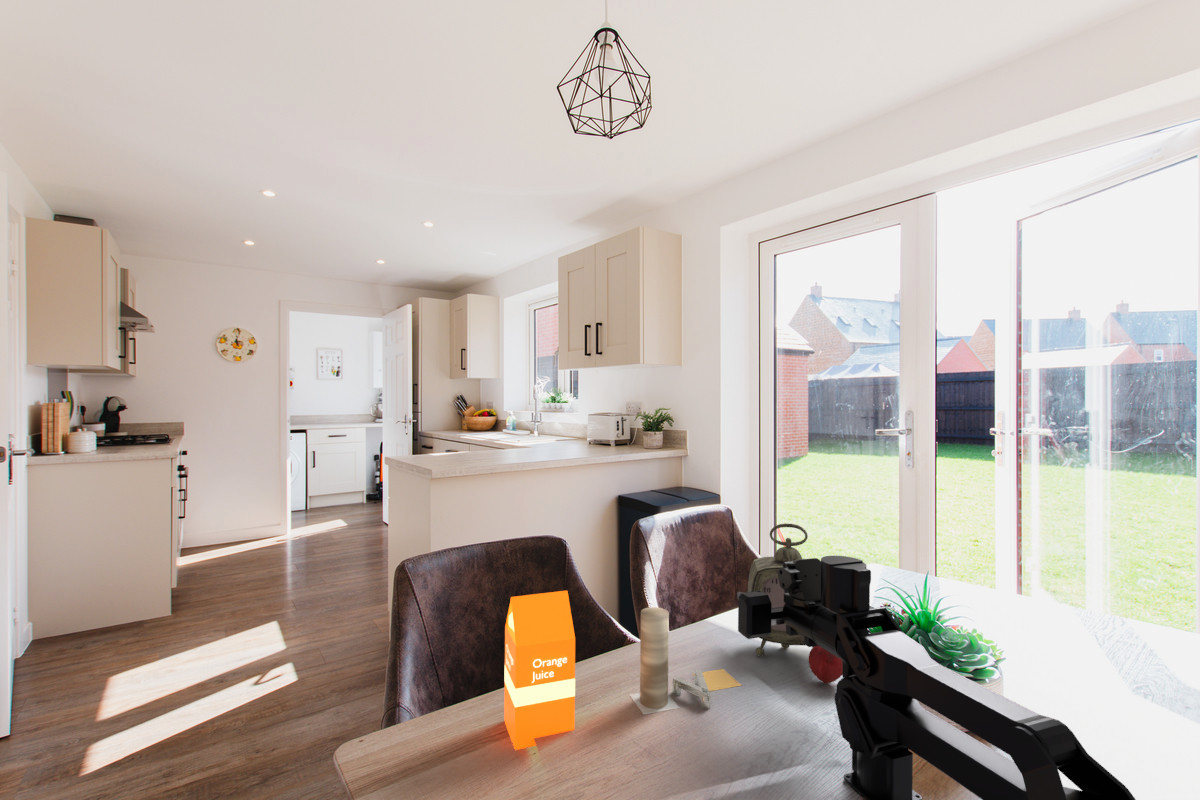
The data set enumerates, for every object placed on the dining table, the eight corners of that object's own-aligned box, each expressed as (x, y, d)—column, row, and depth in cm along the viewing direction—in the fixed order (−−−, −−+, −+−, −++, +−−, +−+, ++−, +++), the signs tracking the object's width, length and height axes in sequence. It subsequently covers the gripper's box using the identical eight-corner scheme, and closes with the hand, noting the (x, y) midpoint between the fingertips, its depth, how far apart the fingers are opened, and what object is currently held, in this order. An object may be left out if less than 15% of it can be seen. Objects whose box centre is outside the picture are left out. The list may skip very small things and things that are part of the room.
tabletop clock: (750, 660, 106) (751, 526, 105) (746, 639, 114) (747, 516, 114) (831, 667, 103) (833, 530, 103) (821, 645, 112) (822, 520, 112)
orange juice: (503, 720, 85) (504, 588, 85) (559, 709, 88) (560, 582, 88) (514, 751, 78) (515, 606, 78) (575, 738, 81) (576, 599, 81)
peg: (672, 706, 88) (673, 616, 87) (646, 710, 86) (647, 619, 86) (660, 691, 92) (661, 605, 92) (635, 696, 90) (636, 609, 90)
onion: (847, 694, 94) (848, 646, 94) (811, 690, 95) (811, 642, 95) (840, 677, 99) (840, 631, 99) (805, 673, 100) (806, 629, 100)
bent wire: (723, 707, 88) (723, 690, 88) (689, 713, 86) (689, 697, 86) (700, 683, 95) (700, 669, 95) (668, 689, 93) (668, 674, 93)
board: (773, 717, 87) (773, 710, 87) (654, 741, 80) (654, 733, 80) (725, 674, 100) (725, 668, 100) (619, 692, 93) (619, 685, 93)
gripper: (880, 565, 83) (808, 540, 97) (772, 576, 77) (713, 548, 91) (879, 641, 83) (807, 604, 97) (771, 658, 77) (712, 616, 91)
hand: (762, 592), depth 94 cm, fingers open, 9 cm apart
